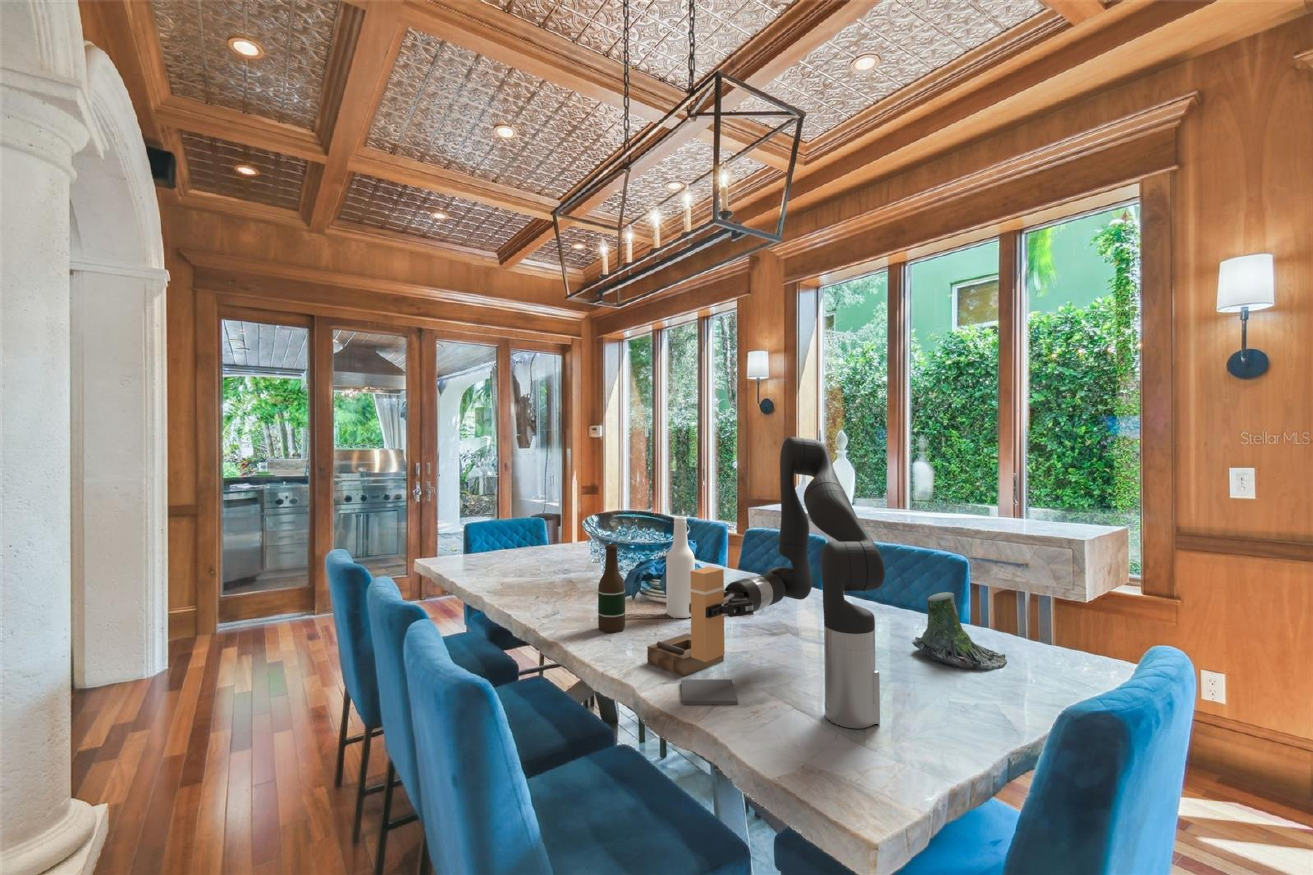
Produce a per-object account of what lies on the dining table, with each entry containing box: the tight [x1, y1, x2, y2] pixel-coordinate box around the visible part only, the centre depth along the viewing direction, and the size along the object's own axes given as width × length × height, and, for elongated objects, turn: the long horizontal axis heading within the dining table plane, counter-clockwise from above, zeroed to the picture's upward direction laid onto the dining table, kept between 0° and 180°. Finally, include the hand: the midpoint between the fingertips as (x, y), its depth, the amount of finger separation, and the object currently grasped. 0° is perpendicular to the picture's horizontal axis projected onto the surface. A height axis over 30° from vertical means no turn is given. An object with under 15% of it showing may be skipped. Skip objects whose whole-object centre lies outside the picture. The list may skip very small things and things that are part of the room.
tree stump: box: [911, 591, 1008, 671], centre depth 145 cm, size 18×20×18 cm
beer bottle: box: [597, 543, 626, 634], centre depth 170 cm, size 8×8×24 cm
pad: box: [680, 678, 739, 706], centre depth 125 cm, size 11×11×1 cm
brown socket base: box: [646, 633, 725, 677], centre depth 143 cm, size 12×14×5 cm
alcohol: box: [665, 516, 696, 619], centre depth 184 cm, size 9×9×30 cm
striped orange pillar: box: [690, 566, 725, 662], centre depth 125 cm, size 4×6×18 cm
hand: (698, 610), depth 123 cm, fingers closed on striped orange pillar, 4 cm apart
